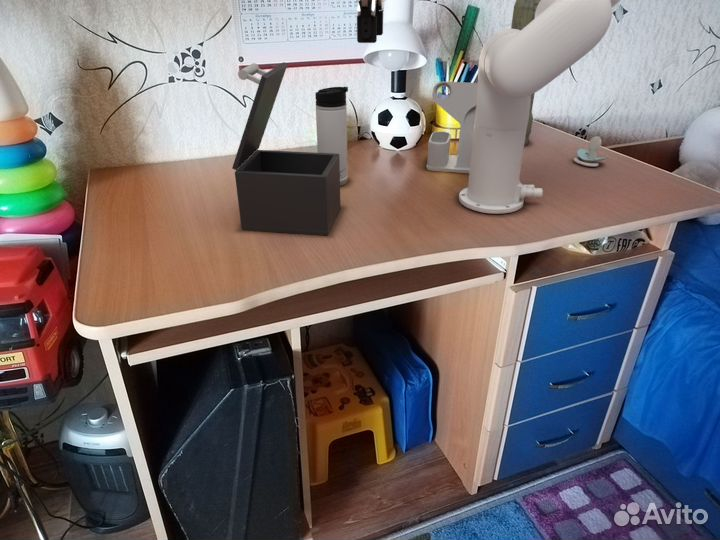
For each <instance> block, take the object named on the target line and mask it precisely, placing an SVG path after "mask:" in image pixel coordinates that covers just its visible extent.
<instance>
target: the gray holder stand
mask: <svg viewBox="0 0 720 540" xmlns="http://www.w3.org/2000/svg"><path fill="white" fill-rule="evenodd" d="M441 87H445V88H447V89H448V91H449V93H448V95H447V97H444V98H441V97H439V95H438V90H439V89H440V88H441ZM477 93H478V82H461V81H438V82H437V83H435V85H434V86H433V88H432V95H431V96H432V101H434V103H435V104H436V105H437V106H438V107H440V108H441V109H442V110H443V111H444V112H445V113H447V114H448V115H449V116H451V117H452V118H453V119H454V121H456V122H458V123H459V125H460V127H459V135H458V143H457V144H458V146H457V152H456V153H457V155H453V154H450V152H451V151H450V149H451V139H452V135H451V133H450V132H447V131H434V132H432V133H431V135H430V137H429V139H428V144H427V159H426V166H425V167H426V170H428V171H432V172H433V171H435V172H445V173H459V174H469V172H470V162H471V153H472V143H473V134H474V124H475V116H476V106H477Z"/></svg>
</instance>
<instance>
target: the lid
mask: <svg viewBox="0 0 720 540" xmlns="http://www.w3.org/2000/svg"><path fill="white" fill-rule="evenodd" d="M288 65H289V64H288V63H286V62H284V61H283V62H282V63H280V64H278V65H277V66H275V67H273V68H272V69H270V70H269V71H266V70H263V69H262V68H260V66H259V64H257V63H255V62H252V63H251V64H249V65H247V66H245V67H243V68H242V69H240V70H238V72H237V75H238V78H239V80H242V81H245V80H246V81H247V80H249V81H251V82H252V83H254V84H257V85H258V86H257V88H256V92H255V95H254V99H253V101H252V105H251V108H250V111H249V114H248V118H247V119H246V124H245V127H244V130H243V132H242V136H241V139H240V142H239V145H238V149H237V151H236V154H235V158H234V161H233V164H232V166H231V170H234V171H236V170H237V169H238V168H239V167H240V166H241V165H242V164H243V163H244V162H245V161H246V160H247V159H249V158H250V157H251V156H252V155H253V154H254V153H255V152H256V151H257V150H260V146H261V143H262V142H263V141H262V140H263V137H264V135H265V132H266V129H267V126H268V123H269V120H270V117H271V114H272V112H273V109H274V105H275V103H276V100H277V97H278V94H279V91H280V88H281V85H282V82H283V79H284V77H285V74H286V70H287V68H288ZM256 74H257V75H260V78H259V77H256V76H255V75H256Z"/></svg>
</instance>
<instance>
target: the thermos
mask: <svg viewBox="0 0 720 540" xmlns="http://www.w3.org/2000/svg"><path fill="white" fill-rule="evenodd" d="M540 1H541V0H515V2H514V5H513V10H512V18H511V27H510V29H518V30H522V29H523V28H524V27H526V26H527V25H528V24H529V23H530V22H531V21H533V20H534V19H535V11H536V8H537V6H538V4H539V2H540ZM535 94H536V92H535V93H534V94H532V95H531V102H530V111H529V119H528V125H527V130H526V136H525V143H524V146H527V145H528V144H529V140H530V139H529V138H530V135H531V133H532V128H533V121H534V117H533V106H534V99H535Z"/></svg>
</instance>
